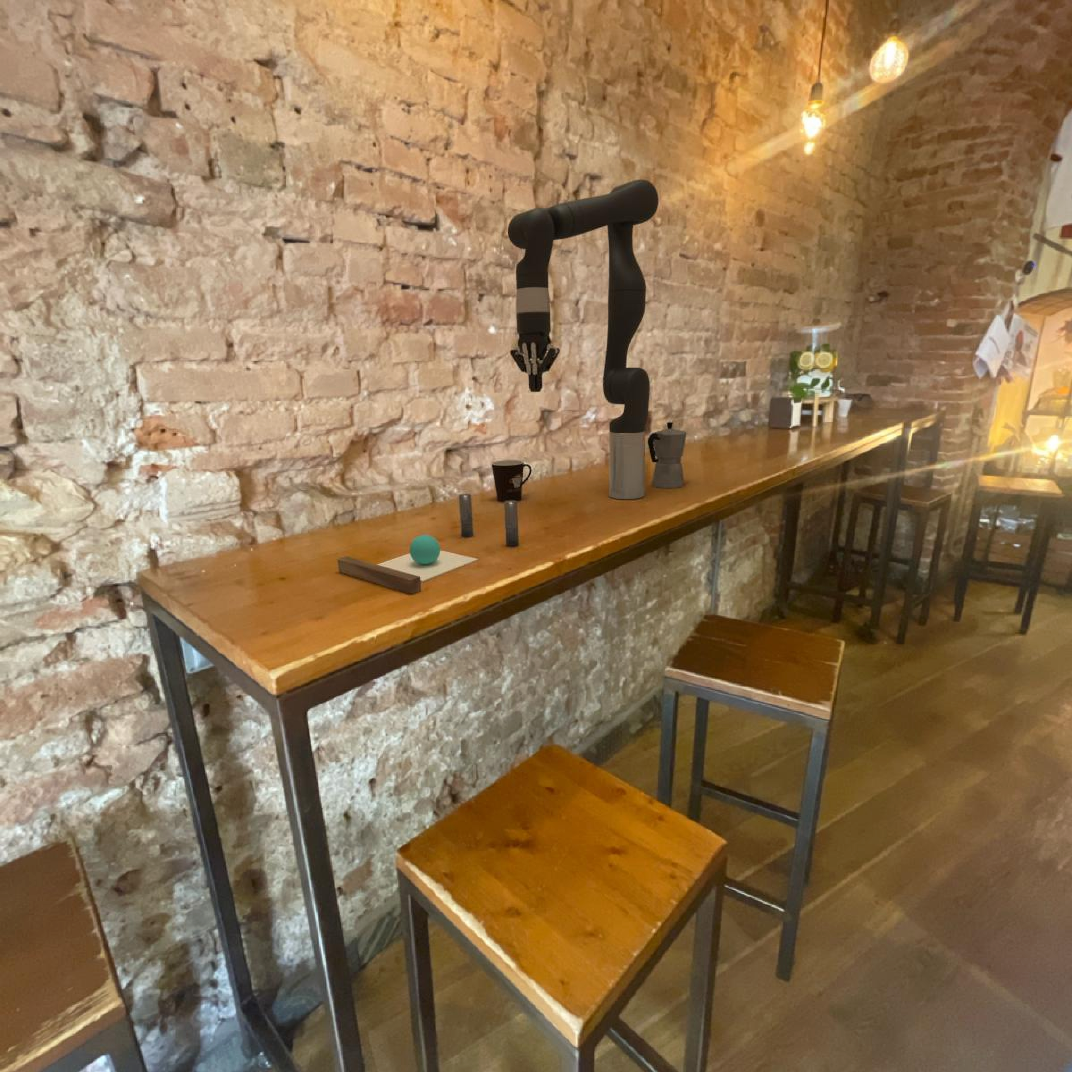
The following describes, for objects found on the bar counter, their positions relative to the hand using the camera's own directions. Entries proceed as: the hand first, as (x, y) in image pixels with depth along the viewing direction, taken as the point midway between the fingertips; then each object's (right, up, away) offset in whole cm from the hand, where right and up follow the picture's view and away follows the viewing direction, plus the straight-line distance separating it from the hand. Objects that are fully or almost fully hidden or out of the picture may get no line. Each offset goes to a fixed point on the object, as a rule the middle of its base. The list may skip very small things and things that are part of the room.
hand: (535, 391), depth 140 cm
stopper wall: (-27, -41, -33) cm, 59 cm away
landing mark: (-21, -38, -25) cm, 50 cm away
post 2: (-5, -35, -15) cm, 38 cm away
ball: (-21, -36, -26) cm, 49 cm away
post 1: (-15, -33, -7) cm, 37 cm away
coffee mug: (-6, -23, +25) cm, 35 cm away
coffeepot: (+37, -19, +36) cm, 55 cm away
